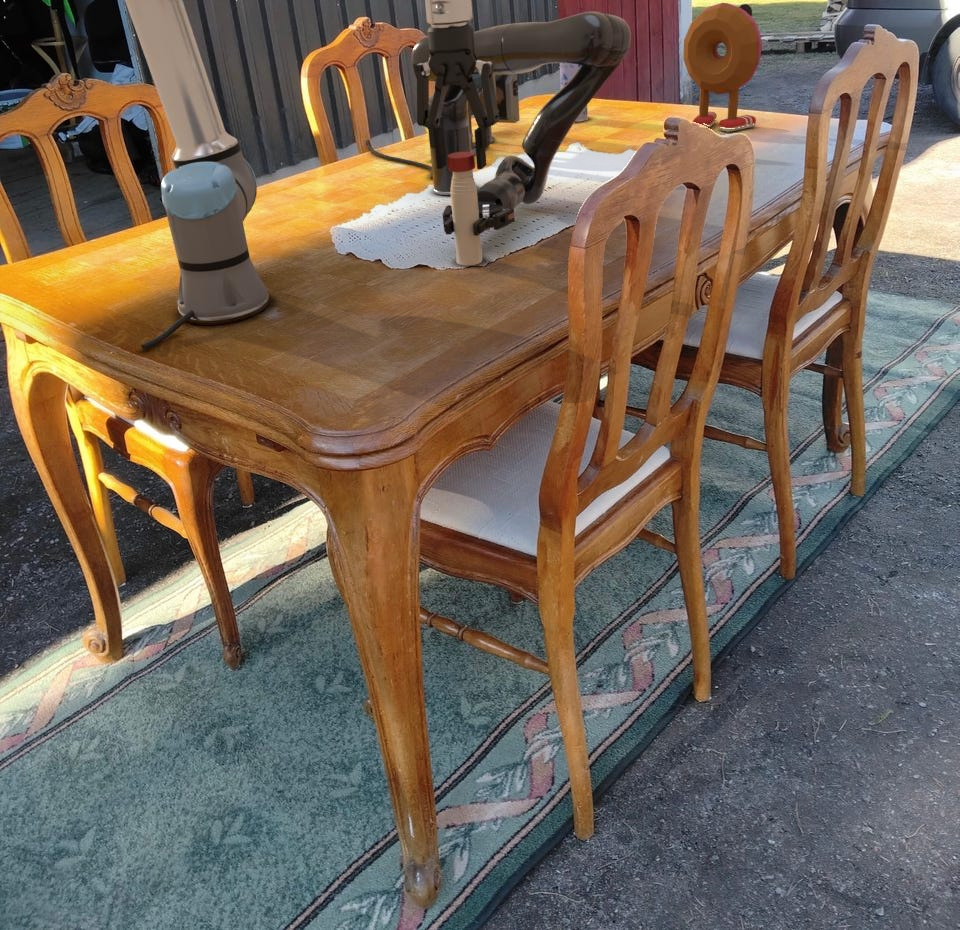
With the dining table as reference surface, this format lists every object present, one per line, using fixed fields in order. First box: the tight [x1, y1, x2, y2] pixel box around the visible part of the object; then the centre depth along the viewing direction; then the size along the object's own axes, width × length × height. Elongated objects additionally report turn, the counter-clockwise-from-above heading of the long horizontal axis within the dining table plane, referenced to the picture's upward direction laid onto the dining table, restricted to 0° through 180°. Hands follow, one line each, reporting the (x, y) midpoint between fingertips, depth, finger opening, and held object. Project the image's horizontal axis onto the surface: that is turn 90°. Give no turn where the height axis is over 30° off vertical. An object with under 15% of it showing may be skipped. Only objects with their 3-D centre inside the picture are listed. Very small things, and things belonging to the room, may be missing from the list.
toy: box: [682, 2, 763, 133], centre depth 248 cm, size 21×10×30 cm, turn 47°
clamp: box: [468, 74, 521, 156], centre depth 252 cm, size 35×9×21 cm, turn 151°
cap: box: [448, 152, 476, 172], centre depth 169 cm, size 5×5×2 cm
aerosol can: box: [559, 63, 589, 123], centre depth 273 cm, size 8×8×20 cm
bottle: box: [450, 170, 483, 267], centre depth 173 cm, size 5×5×18 cm
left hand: (461, 166), depth 169 cm, fingers open, 7 cm apart
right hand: (461, 229), depth 173 cm, fingers closed on bottle, 4 cm apart
